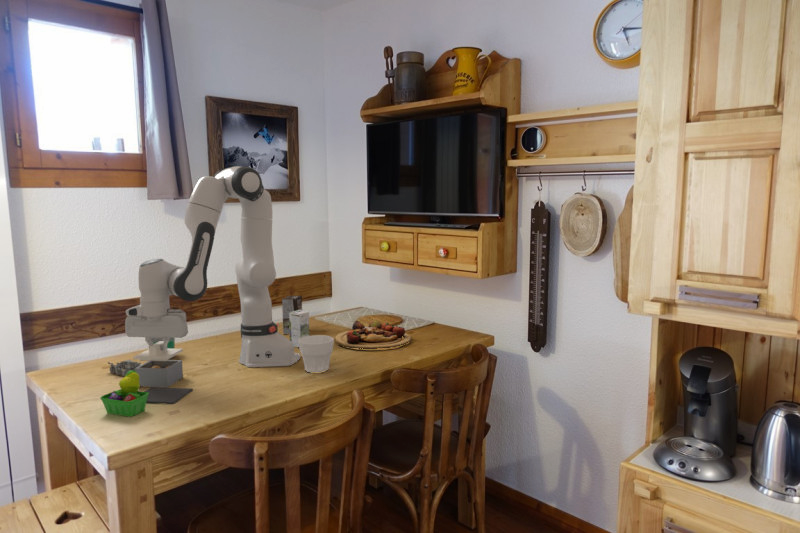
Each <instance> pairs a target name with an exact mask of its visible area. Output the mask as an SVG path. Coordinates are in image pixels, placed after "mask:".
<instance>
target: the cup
mask: <svg viewBox="0 0 800 533" xmlns="http://www.w3.org/2000/svg"><path fill="white" fill-rule="evenodd" d="M298 342H299V348H298V349H299V351H300V353H299V354H300V355H301V356H302V359H303V365H304V371H305V370H306V371H307V372H322V371H326V370H328V369H329V370H330V363H331V356H332V353H333V351H334V344H335V343H334V342H335V337H332V336H330V335H325V334H323V335H322V334H321V335H320V334H317V335H316V334H314V335H309V336H306V337H302V338H300V339H299V340H298ZM329 370H328V371H329ZM307 372H306V373H307Z"/></svg>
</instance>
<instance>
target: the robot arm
mask: <svg viewBox="0 0 800 533" xmlns="http://www.w3.org/2000/svg"><path fill="white" fill-rule="evenodd" d="M189 197H190V198H189V199H188V202H187V206H186V209H185V213H184V224H185V226H186V228H187V229H188V231H189V233H190V236H191V246H190V250H189V254H188V257H187V262H186V265H185V267H184V266H183V267H182V266H179V265H175V264H173V263H170V262H168V261H167V260H164V259H163V258H153V259H149V260H145V261H143V262H142V263H141V264H140V265H139V268H138V278H137V279H138V289H139V292H140V297H139V304H137V305H134V306H132V307H129V308H128V309H126V310H125V315H126V317H125V322H124V329H125V335H126V336H127V337H128V338H145V342H146V344H148V347H149V346H151V345H153V344H154V343H153V342H152V340H151V339H153V337H162V338H163V341H164V343H163V344H162V345H160V350H161V351H165V350H167V344H168V342H169V340H170V338H175V339H176V338H178V339H179V338H181V339H183V338H184V337H186V336H187V335H188V334H189V328H188V323H187V322H188V321H187V313H186V312H185V311H184V310H183V309H181V308H178V309H175V308H171V306H170V305H171V304H170V297H171V296H175V297H179V298H180V299H181V300H183V301H184V302H185V301H186V302H195V301H198V300H199V299H201V298H202V297H203V296H204V295H205V293H206V292H207V289H208V278H207V276H208V275H207V273H208V272H207V271H208V267H209V263H210V257H211V253H212V250H213V247H214V240H215V235H216V231H217V227H218V224H219V221H220V218H221V213H222V212H223V211H222V210H223V207H224V205H225V202H226V201H227V200H228V199H237V200H239V202H240V206H241V215H240V216H241V217H240V244H241V248H242V249H241V250H242V257H241V258H239V259H238V260H237V262H236V263H235V267H234V268H235V274H236V282H237V289H238V295H239V300H240V315H241V316H240V317H241V323H240V338H241V349H240V355H239V359H238V362H239V363H240V364H241V365H244V366H245V367H248V368H258V367H259V368H260V367H261V368H263V367H265V368H266V367H267V368H268V367H269V368H270V367H289V366H292V365H295V364H296V363H298V362H299V361H300V360H301V358H300V357H301V353H299V352H295V348H294V347H293V344H292V342H291V341H290V338H289V339H288V338H287V337H285V335H284V334H281V333H280V332H279V331H278V330H279V329H278V327H279V323H275V322H274V321H273V307H272V299H271V295H270V291H269V288H268V287H269V286H271V285H272V284H273V283H274V282H275V280H276V277H277V272H276V267H275V261H274V250H273V244H272V243H273V237H272V236H273V204H272V197H271V194H270V192H269V191H268V190H267V189H265V187H264V185H263V180H262V177H261V175H260V173H259V172H258V171H257V170H256V169H254V168H252V167H249V166H237V165H236V166H231V167H224V168H222V169H219V170H218V171H217V172H216V173H215V174H214V175H213V176H211V175H207V176H201V177H200V178H199V179H198V181H197V182H196V184H195V186H194V188H193V190H192V192H191V194H190V196H189ZM299 359H300V360H299ZM298 360H299V361H298ZM297 361H298V362H297ZM295 362H296V363H295ZM294 363H295V364H294Z"/></svg>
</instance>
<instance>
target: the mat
mask: <svg viewBox="0 0 800 533" xmlns="http://www.w3.org/2000/svg"><path fill="white" fill-rule="evenodd" d="M193 390H194V388H191V387H190V388H187V387H148V388H147V389H146V390H145V391H143V392H147V393H149V394H148V397H147V401H146V404H158V403H166V404H167V405H175V404H176V403H177V402H178V400H179V401H181V399H182V398H184V397H185V396H187V395H188V394H190V393H191V392H192V391H193ZM174 403H175V404H174ZM166 404H165V405H166Z"/></svg>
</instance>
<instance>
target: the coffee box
mask: <svg viewBox="0 0 800 533" xmlns="http://www.w3.org/2000/svg"><path fill="white" fill-rule="evenodd" d="M302 298H303V296H302V295H287V296H286V297H283V298H282V299H281V301H282V302H281V304H282V305H281V306H282V335H284V334H290V321H289V313H290V312H294V311H297V310H303V299H302Z"/></svg>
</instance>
